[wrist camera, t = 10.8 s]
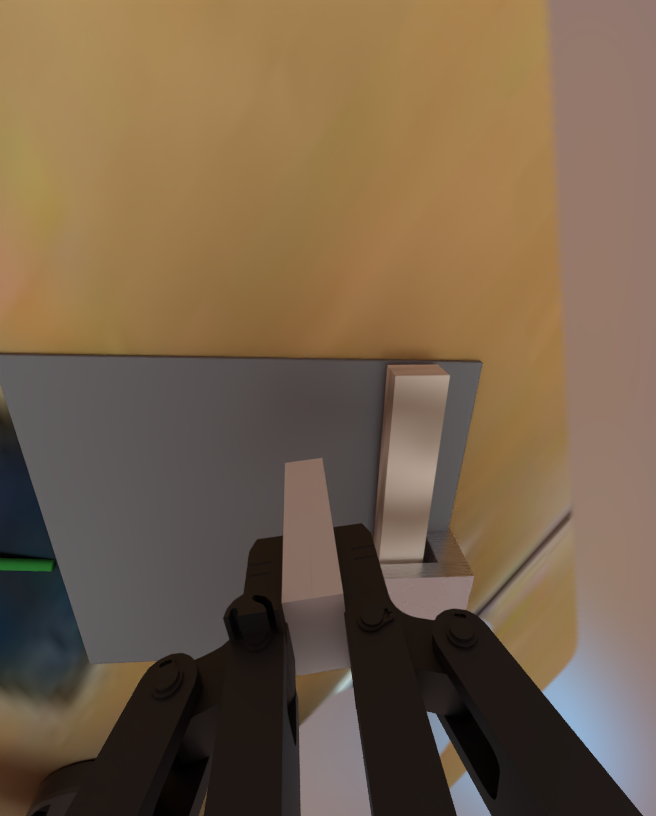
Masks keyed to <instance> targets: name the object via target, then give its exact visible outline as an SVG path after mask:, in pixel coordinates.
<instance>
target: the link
mask: <svg viewBox="0 0 656 816" xmlns="http://www.w3.org/2000/svg"><path fill="white" fill-rule="evenodd" d="M449 379H450V375H449V374H448V373H447V372H446V371H445V370H443V369H442V368H441V367H440V366H439V365H438V364H434V365H387V376H386V389H385V401H384V414H383V427H382V440H381V453H380V465H379V478H378V491H377V504H376V516H375V529H374V545H375V548H376V552H377V556H378V559H379V562H380V564H412V563H422V562H423V555H424V548H425V541H426V535H427V528H428V521H429V514H430V508H431V501H432V494H433V487H434V481H435V474H436V467H437V460H438V454H439V447H440V440H441V433H442V427H443V420H444V413H445V406H446V400H447V393H448V386H449Z"/></svg>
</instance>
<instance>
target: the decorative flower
mask: <svg viewBox="0 0 656 816" xmlns="http://www.w3.org/2000/svg"><path fill="white" fill-rule="evenodd" d="M54 568H55V560H50V559H21V558H0V570H19V571H53V570H54Z"/></svg>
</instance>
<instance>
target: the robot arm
mask: <svg viewBox="0 0 656 816" xmlns="http://www.w3.org/2000/svg"><path fill="white" fill-rule="evenodd" d="M223 620H224V623H225V627H226V630H227V633H228V637H229V640H228V641H227V642H226V643H225V644H224V645H222V646H221V647H219V648H218V649H216V650H214V651H212V652H210V653H208V654H206V655H204V656H202V657H200V658H198V659H196V660H194V659H193V658H192V657H191V656H190V655H187V654H184V653H176V654H170V655H168V656H166V657H164V658H161V659H160V660H158V661H157V662H156V663H155V664H153V665H152V666H151V667H150V668H149V669H148V670H147V672H146V673H145V674H144V676H143V677H142V678H141V680H140V682H139V683H138V685H137V687H136V689H135V691H134V692H133V694H132V696H131V698H130V699H129V701H128V703H127V705H126V707H125V708H124V710H123V712H122V714H121V715H120V717H119V719H118V721H117V723H116V724H115V726H114V728H113V730H112V731H111V733H110V735H109V737H108V738H107V740H106V742H105V744H104V746H103V747H102V749H101V751H100V753H99V754H98V756H97V758H96V760H95V761H90V762H84V763H79V764H75V765H72V766H69V767H66V768H63V769H61V770H59V771H57V772H55V773H53V774H52V775H50V776H49V777H47V778H46V779H45V780H44V781H43V782H42V783H41V785H40V786H39V788H38V790H37V792H36V794H35V796H34V798H33V800H32V802H31V805H30V807H29V809H28V811H27V813H26V816H198V815H199V812H200V809H201V806H202V803H203V800H204V797H205V794H206V791H207V788H208V791H207V798H206V805H205V811H204V816H301V814H300V764H299V714H298V696H297V692H296V683H295V670H296V674H297V676H300V675H306V674H312V673H318V672H325V671H331V670H337V669H343V668H349V667H351V672H352V679H353V688H354V696H355V704H356V709H357V716H358V723H359V730H360V737H361V744H362V751H363V759H364V766H365V773H366V780H367V787H368V794H369V800H370V808H371V815H372V816H457V815H456V811H455V808H454V804H453V801H452V798H451V794H450V791H449V787H448V784H447V780H446V777H445V774H444V770H443V767H442V763H441V760H440V756H439V753H438V750H437V746H436V743H435V739H434V736H433V733H432V729H431V726H430V722H429V719H428V716H427V712H426V711H428V712H432V713H436V714H437V717H438V718H439V720H440V722H441V724H442V726H443V727H444V729H445V731H446V733H447V735H448V737H449V739H450V740H451V742H452V744H453V746H454V748H455V750H456V751H457V753H458V755H459V757H460V759H461V761H462V762H463V764H464V766H465V768H466V770H467V772H468V773H469V775H470V777H471V779H472V781H473V782H474V784H475V786H476V788H477V790H478V792H479V793H480V795H481V797H482V799H483V801H484V803H485V804H486V806H487V808H488V810H489V812H490V814H491V816H643V815H642V814H641V813H640V812H639V810H638V809H637V808H636V807H635V805H634V804H633V803H632V802H631V801H630V799H629V798H628V797H627V796H626V795H625V793H624V792H623V791H622V790H621V788H620V787H619V786H618V785H617V784H616V782H615V781H614V780H613V779H612V777H611V776H610V775H609V774H608V773H607V771H606V770H605V769H604V768H603V766H602V765H601V764H600V763H599V762H598V760H597V759H596V758H595V757H594V756H593V754H592V753H591V752H590V751H589V749H588V748H587V747H586V746H585V745H584V743H583V742H582V741H581V740H580V738H579V737H578V736H577V735H576V733H575V732H574V731H573V730H572V729H571V727H570V726H569V725H568V724H567V722H565V720H564V719H563V718H562V716H561V715H560V714H559V713H558V711H557V710H556V709H555V708H554V707H553V705H552V704H551V703H550V702H549V700H548V699H547V698H546V697H545V696H544V694H543V693H542V692H541V691H540V689H539V688H538V687H537V686H536V685H535V683H534V682H533V681H532V680H531V678H530V677H529V676H528V675H527V674H526V672H525V671H524V670H523V669H522V667H521V666H520V665H519V664H518V663H517V661H516V660H515V659H514V658H513V656H512V655H511V654H510V653H509V652H508V650H507V649H506V648H505V647H504V645H503V644H502V643H501V642H500V641H499V639H498V638H497V637H496V636H495V634H494V633H493V632H492V631H491V630H490V628H489V627H488V626H487V625H486V623H485V622H484V621H482V620H481V619H480V618H479V617H478V616H477V615H475V614H473V613H471V612H469V611H467V610H463V609H456V608H454V609H449V610H444V611H443V612H441V613H440V614H439V615H437V616H436V618H435V620H430V619H423V618H417V617H413V616H410V615H408V614H406V613H404V612H402V611H401V610H399V609H398V608H397V607H396V606H395V605H394V604H393V602H392V601H391V599H390V596H389V594H388V590H387V587H386V583H385V580H384V576H383V573H382V569H381V566H380V562H379V559H378V556H377V552H376V548H375V545H374V541H373V538H372V534H371V532H370V531H369V530H368V529H367V528H366V527H365V526H364V525H363V524H362V523H359V524H352V525H345V526H338V527H333V524H332V518H331V511H330V505H329V498H328V492H327V485H326V479H325V472H324V466H323V459H322V458H317V459H310V460H303V461H295V462H288V463H285V485H284V526H283V536H276V537H269V538H262V539H257V540H256V541H255V543H254V545H253V546H252V548H251V549H250V551H249V556H248V563H247V571H246V578H245V585H244V592H243V595H241V596H239V597H238V598H236V599H235V600H234V601H233V602H232V603H231V604H230V605H229V607H228V608H227V609H226V612H225V614H224V617H223Z"/></svg>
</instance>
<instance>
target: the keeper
mask: <svg viewBox="0 0 656 816" xmlns="http://www.w3.org/2000/svg"><path fill="white" fill-rule="evenodd" d="M380 566H381V569H382V573H383V576H384V580H385V583H386V587H387V590H388V594H389V596H390V599H391V601H392V602H393V604H394V605H395V606H396V607H397V608H398V609H399V610H401V611H402V612H404V613H406V614H408V615H410V616H413V617H417V618H423V619H430V620H435V618H436V616H437V615H439V614H440V613H441V612H443V611H444V610H449V609H454V608H456V609H463V610H466V608H467V604H468V600H469V596H470V592H471V589H472V585H473V581H474V577H475V576H474V574H473V572H472V570H471V568H470V566H469V565H468V563H467V561H466V559H465V557H464V555H463V553H462V551H461V550H460V548H459V546H458V544H457V542H456V540H455V538H454V536H453V535H452V533H451V531H450V529H448V531H429V532H427V535H426V541H425V548H424V555H423V562H422V563H412V564H380Z"/></svg>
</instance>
